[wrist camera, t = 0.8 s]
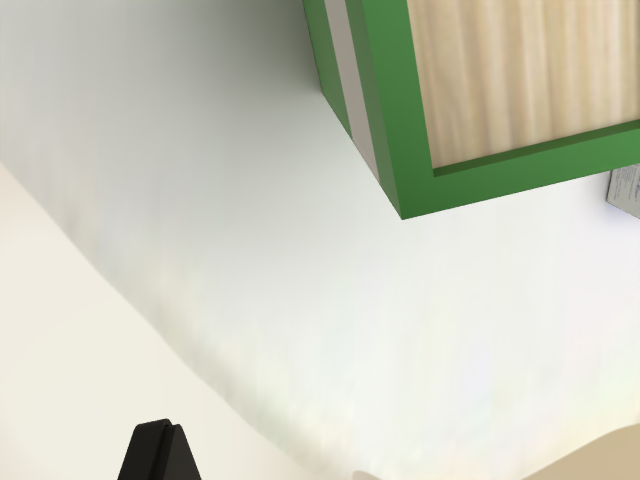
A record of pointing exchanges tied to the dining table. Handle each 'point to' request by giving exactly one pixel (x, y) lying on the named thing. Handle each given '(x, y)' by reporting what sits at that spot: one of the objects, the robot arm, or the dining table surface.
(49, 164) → the dining table surface
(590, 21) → the hardback book
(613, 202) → the medicine box
